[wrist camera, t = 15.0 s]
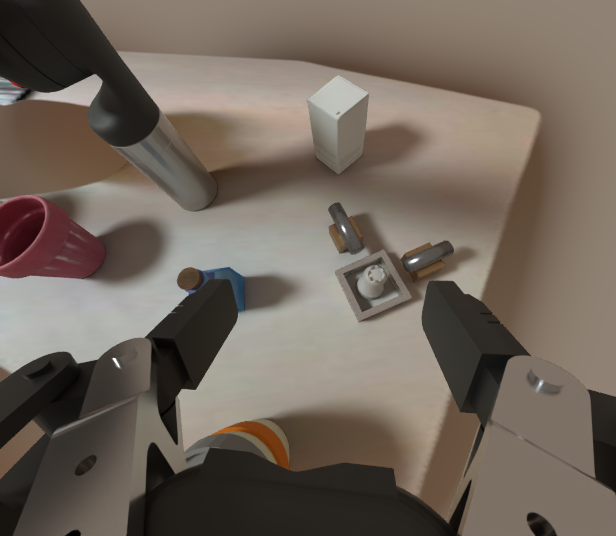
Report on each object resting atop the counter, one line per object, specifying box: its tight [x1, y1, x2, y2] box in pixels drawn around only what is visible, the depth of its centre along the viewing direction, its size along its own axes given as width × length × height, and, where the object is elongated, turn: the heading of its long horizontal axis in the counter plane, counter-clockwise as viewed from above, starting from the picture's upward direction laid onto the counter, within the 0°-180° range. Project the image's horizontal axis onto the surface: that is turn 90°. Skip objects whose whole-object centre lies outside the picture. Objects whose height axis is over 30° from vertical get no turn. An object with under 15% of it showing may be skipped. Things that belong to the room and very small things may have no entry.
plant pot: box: [0, 195, 105, 279], centre depth 44 cm, size 14×14×13 cm
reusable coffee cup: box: [184, 419, 290, 470], centre depth 28 cm, size 13×13×15 cm
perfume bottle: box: [177, 267, 245, 311], centre depth 38 cm, size 6×6×12 cm
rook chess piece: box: [357, 265, 387, 300], centre depth 36 cm, size 4×4×8 cm
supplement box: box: [307, 75, 369, 175], centre depth 44 cm, size 7×7×13 cm
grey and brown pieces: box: [328, 203, 454, 322], centre depth 39 cm, size 19×17×5 cm
